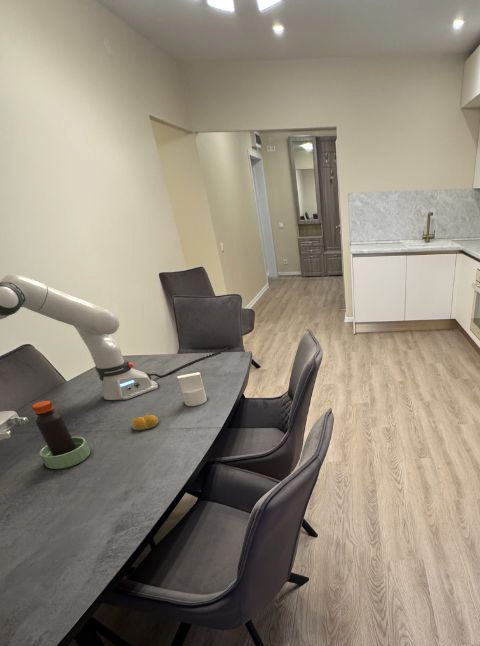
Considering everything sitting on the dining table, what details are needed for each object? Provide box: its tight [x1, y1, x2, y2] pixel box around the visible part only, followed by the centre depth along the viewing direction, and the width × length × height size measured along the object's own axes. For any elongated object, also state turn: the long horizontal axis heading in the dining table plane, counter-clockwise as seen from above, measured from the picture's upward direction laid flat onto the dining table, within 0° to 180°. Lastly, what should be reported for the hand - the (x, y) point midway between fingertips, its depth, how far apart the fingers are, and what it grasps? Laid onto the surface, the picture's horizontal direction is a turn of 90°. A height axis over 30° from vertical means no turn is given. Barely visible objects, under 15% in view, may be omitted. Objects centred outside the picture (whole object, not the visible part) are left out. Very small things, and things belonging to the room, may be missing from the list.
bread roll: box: [131, 414, 159, 431], centre depth 149 cm, size 8×9×4 cm
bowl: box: [39, 436, 91, 470], centre depth 130 cm, size 13×13×5 cm
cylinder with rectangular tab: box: [176, 371, 208, 407], centre depth 165 cm, size 9×9×12 cm
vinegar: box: [31, 400, 77, 456], centre depth 126 cm, size 7×7×20 cm
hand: (18, 427), depth 123 cm, fingers open, 8 cm apart
